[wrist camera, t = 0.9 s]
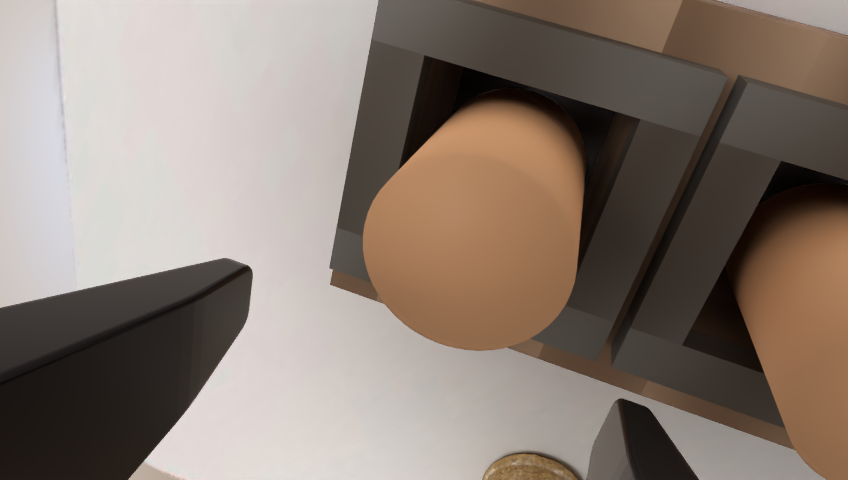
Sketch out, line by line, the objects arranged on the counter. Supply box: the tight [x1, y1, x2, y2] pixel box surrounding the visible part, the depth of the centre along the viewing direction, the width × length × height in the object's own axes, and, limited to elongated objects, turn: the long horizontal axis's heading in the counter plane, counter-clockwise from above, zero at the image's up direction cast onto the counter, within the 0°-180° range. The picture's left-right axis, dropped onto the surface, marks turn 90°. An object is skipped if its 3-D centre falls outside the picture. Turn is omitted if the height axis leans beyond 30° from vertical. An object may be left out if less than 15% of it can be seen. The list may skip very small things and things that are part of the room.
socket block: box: [329, 0, 848, 450], centre depth 17 cm, size 16×10×6 cm, turn 76°
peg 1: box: [363, 88, 586, 351], centre depth 14 cm, size 4×4×6 cm
